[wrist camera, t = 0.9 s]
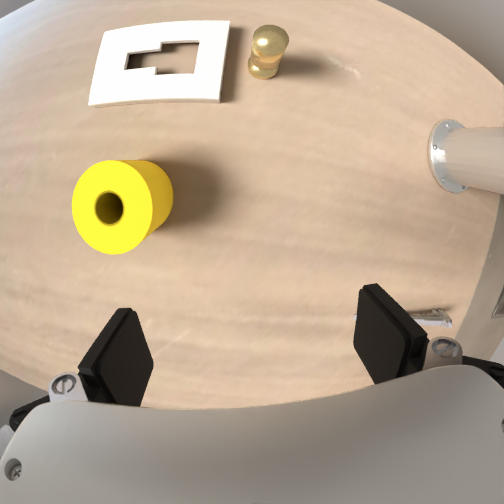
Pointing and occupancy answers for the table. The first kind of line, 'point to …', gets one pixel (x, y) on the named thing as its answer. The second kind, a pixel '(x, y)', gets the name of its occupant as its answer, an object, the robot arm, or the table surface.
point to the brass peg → (267, 51)
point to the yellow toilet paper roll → (121, 203)
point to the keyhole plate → (145, 79)
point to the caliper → (431, 318)
